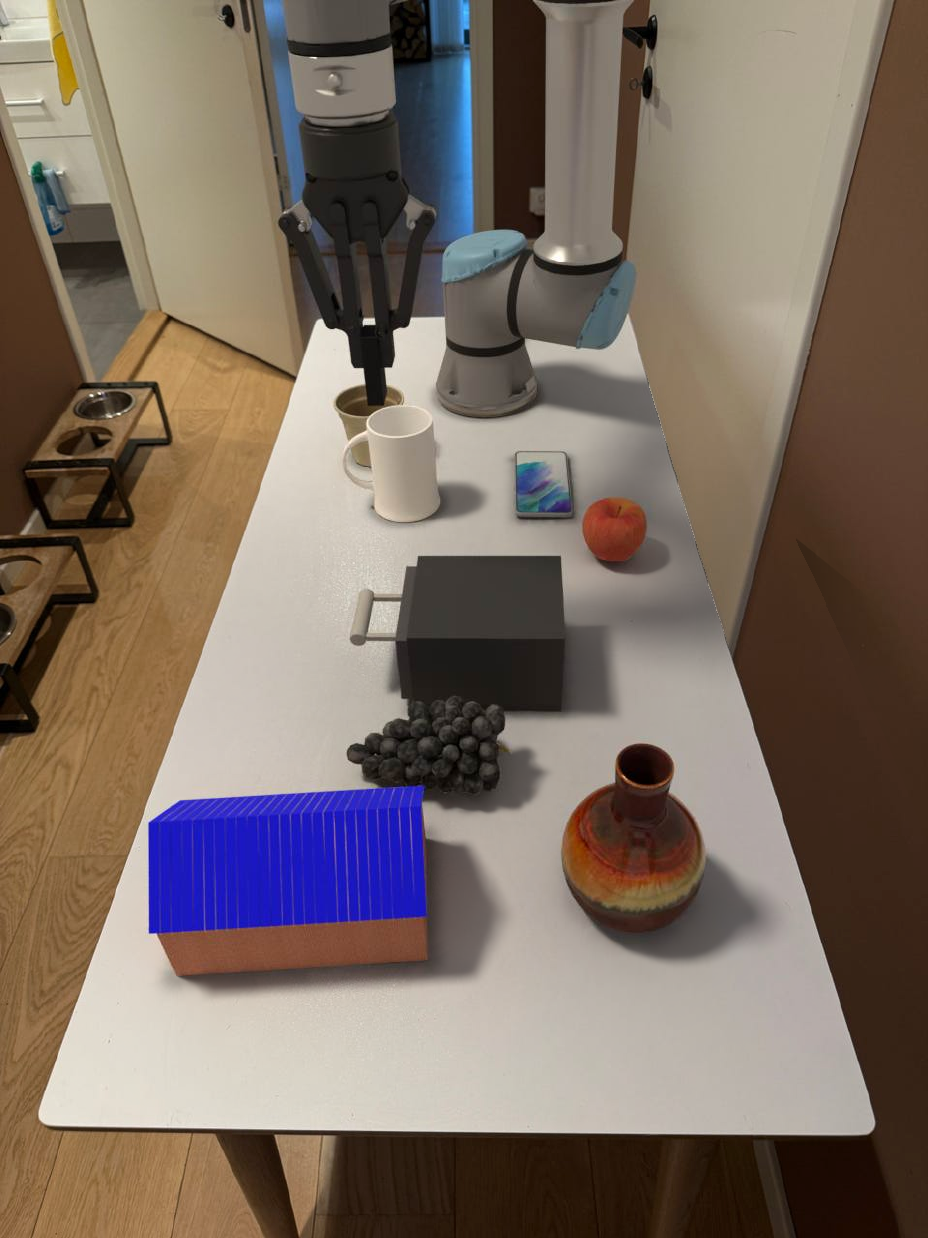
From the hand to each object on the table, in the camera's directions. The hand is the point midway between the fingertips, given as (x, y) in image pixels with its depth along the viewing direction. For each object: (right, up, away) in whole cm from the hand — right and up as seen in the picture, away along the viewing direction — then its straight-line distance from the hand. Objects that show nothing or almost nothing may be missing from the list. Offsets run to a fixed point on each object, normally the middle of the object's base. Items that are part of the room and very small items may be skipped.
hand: (377, 398), depth 85 cm
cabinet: (+11, -25, +11) cm, 29 cm away
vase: (+21, -42, -10) cm, 48 cm away
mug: (-1, -6, +34) cm, 35 cm away
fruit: (+5, -34, 0) cm, 35 cm away
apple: (+25, -13, +24) cm, 37 cm away
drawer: (+6, -24, +10) cm, 27 cm away
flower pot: (-4, +2, +43) cm, 44 cm away
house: (-5, -44, -10) cm, 45 cm away
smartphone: (+18, -3, +36) cm, 40 cm away
